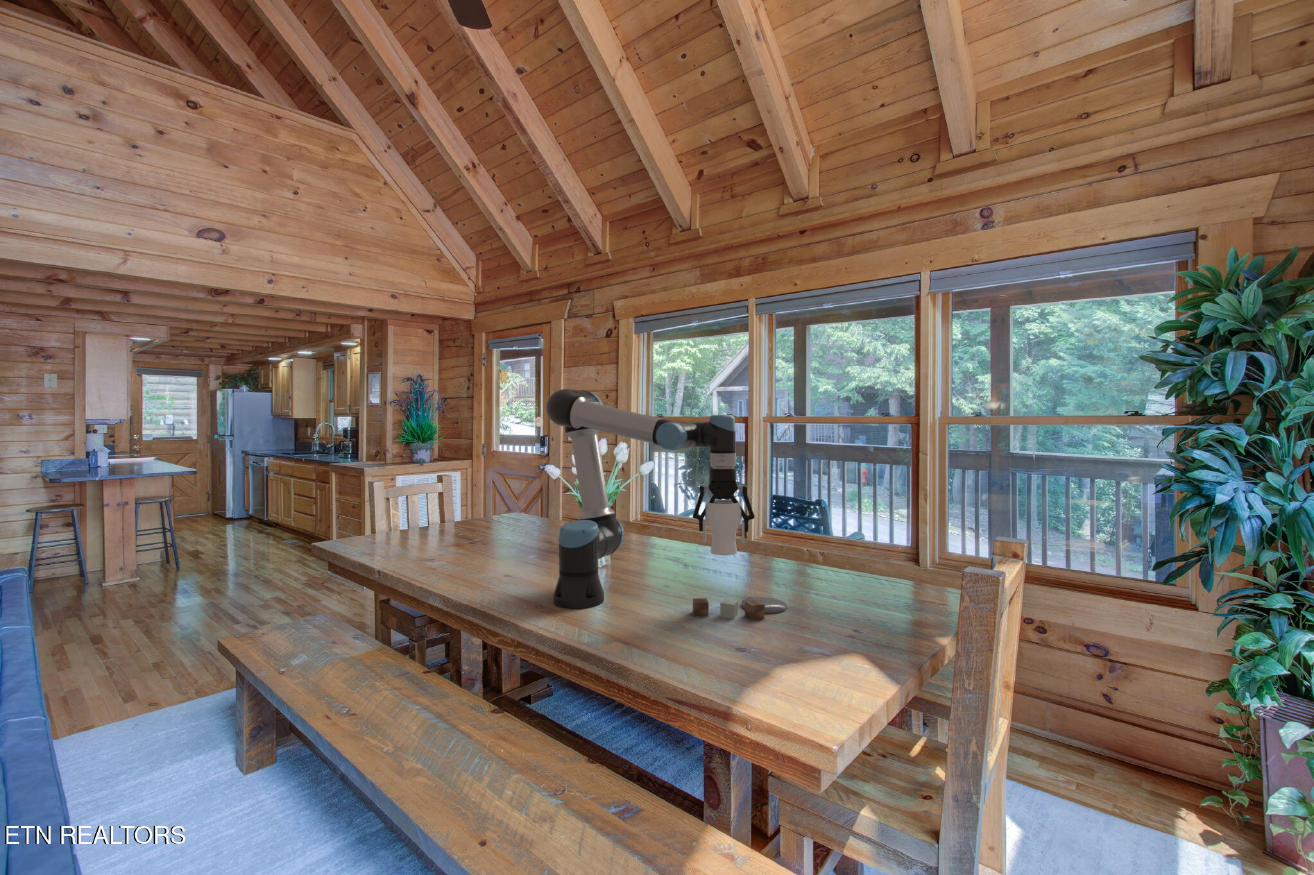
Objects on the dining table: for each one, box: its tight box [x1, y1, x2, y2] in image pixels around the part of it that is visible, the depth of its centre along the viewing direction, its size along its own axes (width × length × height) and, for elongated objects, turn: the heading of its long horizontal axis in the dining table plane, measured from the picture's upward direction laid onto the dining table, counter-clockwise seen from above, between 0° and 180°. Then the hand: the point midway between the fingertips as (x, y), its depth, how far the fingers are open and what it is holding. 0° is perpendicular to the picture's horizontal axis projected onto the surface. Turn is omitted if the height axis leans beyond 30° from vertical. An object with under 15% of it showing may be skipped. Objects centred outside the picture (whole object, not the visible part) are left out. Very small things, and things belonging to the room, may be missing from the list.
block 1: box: [692, 597, 710, 618], centre depth 164 cm, size 4×4×4 cm
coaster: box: [740, 596, 787, 615], centre depth 171 cm, size 13×13×1 cm
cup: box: [704, 499, 743, 556], centre depth 172 cm, size 11×11×15 cm
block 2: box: [719, 598, 739, 620], centre depth 163 cm, size 4×4×4 cm
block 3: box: [744, 600, 766, 621], centre depth 162 cm, size 4×4×4 cm
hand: (723, 542), depth 172 cm, fingers closed on cup, 11 cm apart
